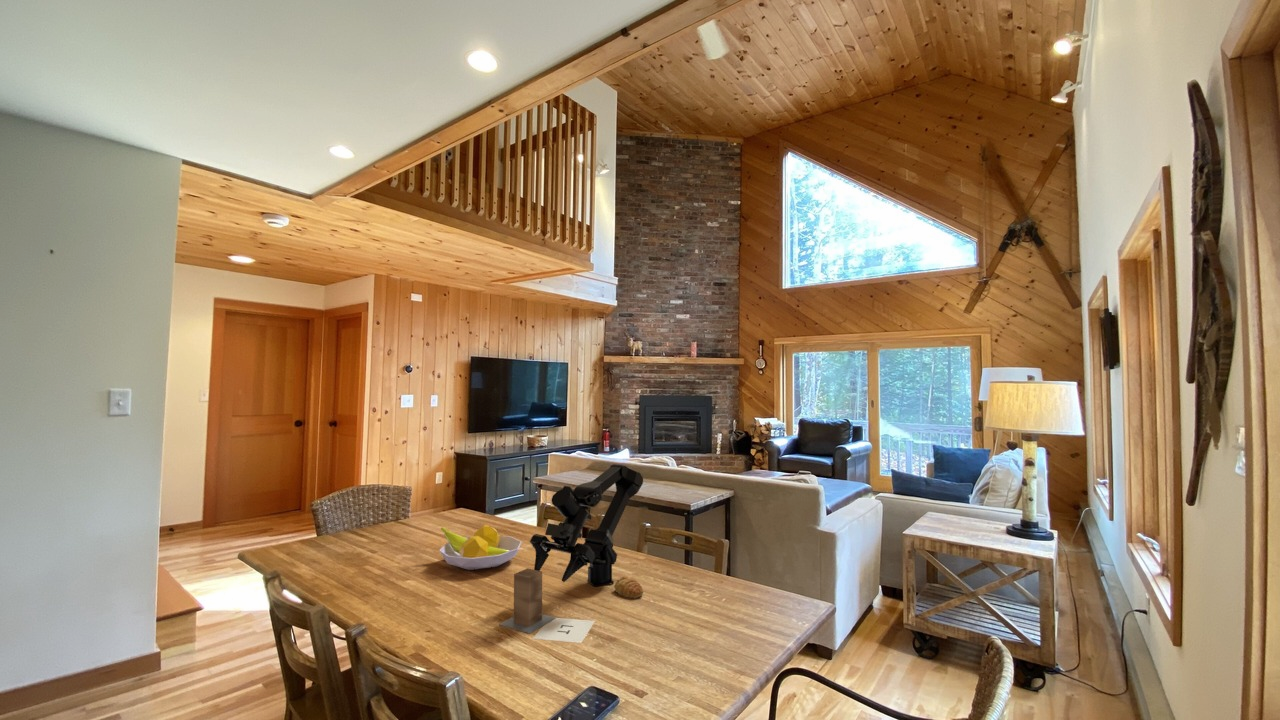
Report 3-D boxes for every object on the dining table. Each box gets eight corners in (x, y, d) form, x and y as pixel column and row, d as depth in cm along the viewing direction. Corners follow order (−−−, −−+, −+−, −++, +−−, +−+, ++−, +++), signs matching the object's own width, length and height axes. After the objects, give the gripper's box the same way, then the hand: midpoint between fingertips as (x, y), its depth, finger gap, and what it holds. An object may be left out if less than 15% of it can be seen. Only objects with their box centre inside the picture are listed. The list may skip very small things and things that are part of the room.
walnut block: (527, 615, 142) (527, 568, 142) (541, 619, 139) (542, 571, 140) (513, 622, 137) (514, 574, 138) (528, 626, 135) (529, 577, 135)
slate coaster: (526, 612, 145) (526, 609, 145) (555, 620, 140) (555, 617, 140) (499, 626, 136) (499, 624, 136) (529, 635, 131) (529, 633, 131)
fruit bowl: (537, 558, 189) (537, 526, 190) (475, 582, 167) (476, 545, 167) (481, 546, 204) (482, 515, 205) (418, 566, 182) (419, 532, 182)
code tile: (550, 618, 141) (550, 617, 141) (595, 622, 139) (595, 620, 139) (532, 640, 129) (532, 638, 129) (581, 644, 127) (581, 642, 127)
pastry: (649, 596, 156) (649, 582, 157) (630, 602, 152) (630, 588, 153) (629, 586, 164) (629, 573, 164) (611, 592, 160) (611, 578, 160)
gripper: (534, 505, 155) (507, 557, 145) (590, 516, 146) (565, 571, 137) (550, 525, 162) (526, 575, 152) (604, 536, 153) (582, 590, 144)
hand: (548, 577), depth 146 cm, fingers open, 9 cm apart
